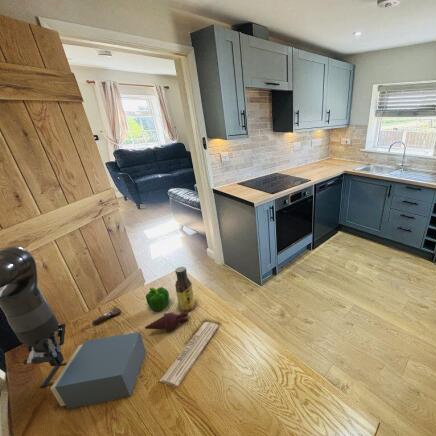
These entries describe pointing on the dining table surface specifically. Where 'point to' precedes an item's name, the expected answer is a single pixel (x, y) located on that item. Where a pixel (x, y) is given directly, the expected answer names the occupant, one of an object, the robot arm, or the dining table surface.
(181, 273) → the sauce bottle
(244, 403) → the dining table surface
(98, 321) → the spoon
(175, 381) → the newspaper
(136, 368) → the cabinet
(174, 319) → the beetroot
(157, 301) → the bell pepper
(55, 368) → the drawer
